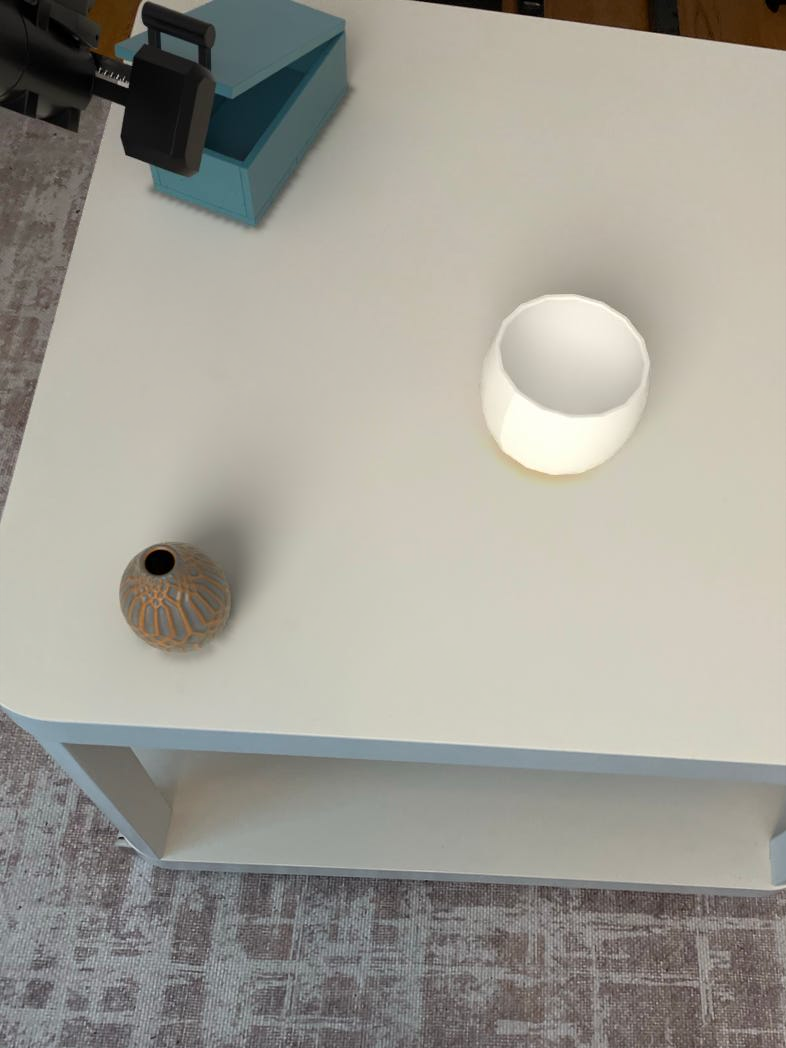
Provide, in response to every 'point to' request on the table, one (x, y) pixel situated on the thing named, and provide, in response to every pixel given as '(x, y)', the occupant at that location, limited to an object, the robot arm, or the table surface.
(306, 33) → the lid
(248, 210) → the teal rectangular box
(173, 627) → the vase
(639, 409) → the cup
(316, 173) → the table surface
